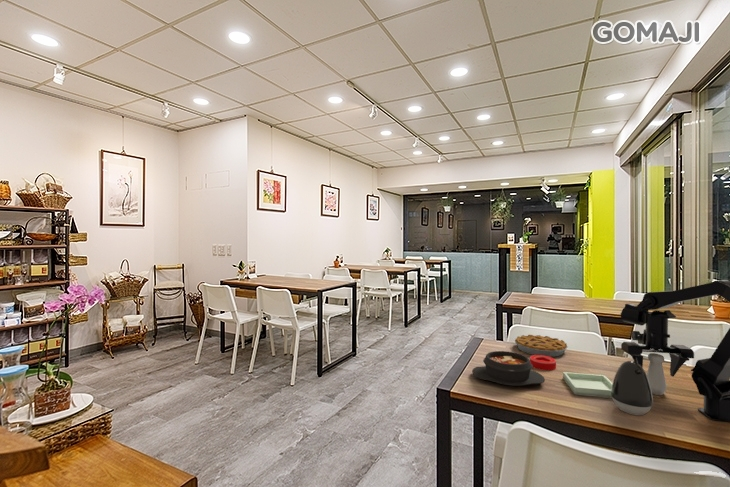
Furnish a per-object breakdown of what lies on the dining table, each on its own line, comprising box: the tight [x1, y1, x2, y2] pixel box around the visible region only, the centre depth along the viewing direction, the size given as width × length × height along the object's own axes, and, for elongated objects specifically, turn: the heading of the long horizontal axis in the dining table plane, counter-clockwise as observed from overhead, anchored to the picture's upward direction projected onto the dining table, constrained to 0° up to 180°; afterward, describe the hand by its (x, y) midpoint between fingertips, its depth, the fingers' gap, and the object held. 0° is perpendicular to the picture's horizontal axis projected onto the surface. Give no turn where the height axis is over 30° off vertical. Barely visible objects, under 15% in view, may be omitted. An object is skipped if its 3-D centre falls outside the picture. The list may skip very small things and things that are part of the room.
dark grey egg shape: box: [611, 360, 654, 416], centre depth 108 cm, size 10×10×15 cm
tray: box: [562, 371, 613, 399], centre depth 124 cm, size 14×14×2 cm
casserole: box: [471, 350, 546, 387], centre depth 132 cm, size 25×19×8 cm
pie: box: [514, 334, 569, 358], centre depth 165 cm, size 22×22×5 cm
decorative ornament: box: [529, 354, 557, 371], centre depth 145 cm, size 10×10×3 cm
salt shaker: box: [646, 352, 668, 396], centre depth 120 cm, size 6×6×13 cm
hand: (655, 374), depth 120 cm, fingers open, 9 cm apart
